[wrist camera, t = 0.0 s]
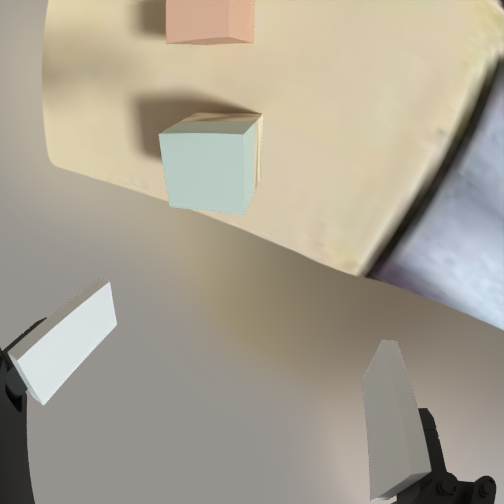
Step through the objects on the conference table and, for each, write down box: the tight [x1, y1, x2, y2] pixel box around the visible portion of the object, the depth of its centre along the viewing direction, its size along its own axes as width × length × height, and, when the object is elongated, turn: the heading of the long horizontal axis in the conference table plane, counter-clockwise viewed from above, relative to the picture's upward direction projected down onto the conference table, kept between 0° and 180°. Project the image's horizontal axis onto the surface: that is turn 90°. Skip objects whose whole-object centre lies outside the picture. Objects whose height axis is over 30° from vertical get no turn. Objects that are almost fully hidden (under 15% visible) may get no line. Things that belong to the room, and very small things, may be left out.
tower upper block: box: [159, 121, 255, 215], centre depth 29 cm, size 9×9×5 cm
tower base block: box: [180, 113, 263, 191], centre depth 33 cm, size 9×9×5 cm
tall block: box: [166, 0, 254, 45], centre depth 20 cm, size 6×6×10 cm
